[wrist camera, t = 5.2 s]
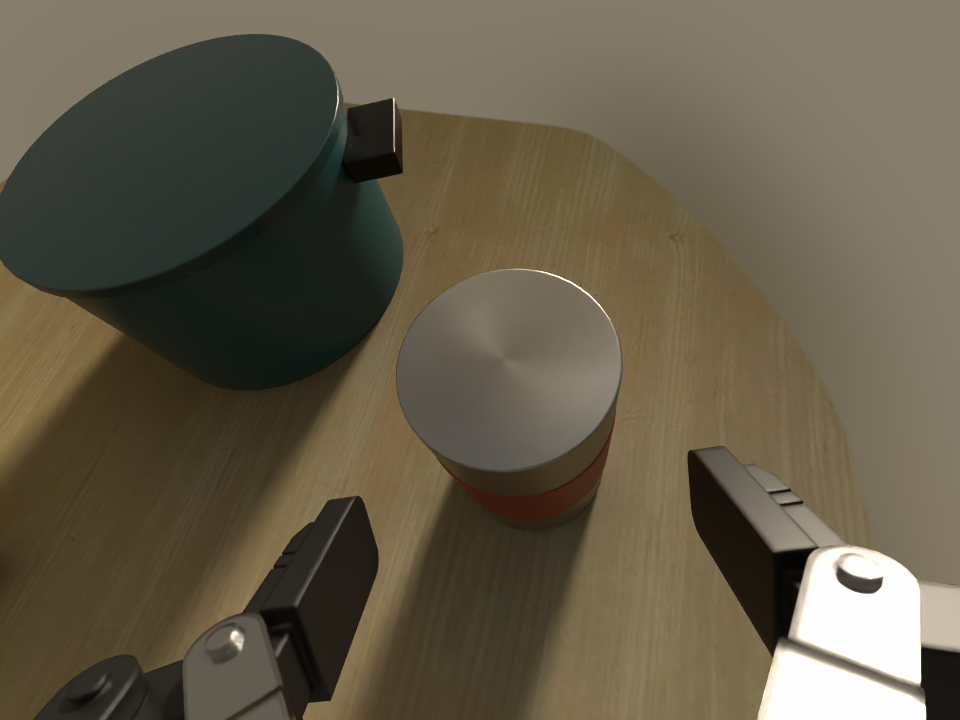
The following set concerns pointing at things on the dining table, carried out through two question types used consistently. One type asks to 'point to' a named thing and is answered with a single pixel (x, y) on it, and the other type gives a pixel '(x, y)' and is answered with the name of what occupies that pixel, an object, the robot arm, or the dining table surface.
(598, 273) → the dining table surface
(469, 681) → the dining table surface
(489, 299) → the can
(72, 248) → the pot
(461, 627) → the dining table surface
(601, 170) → the dining table surface
